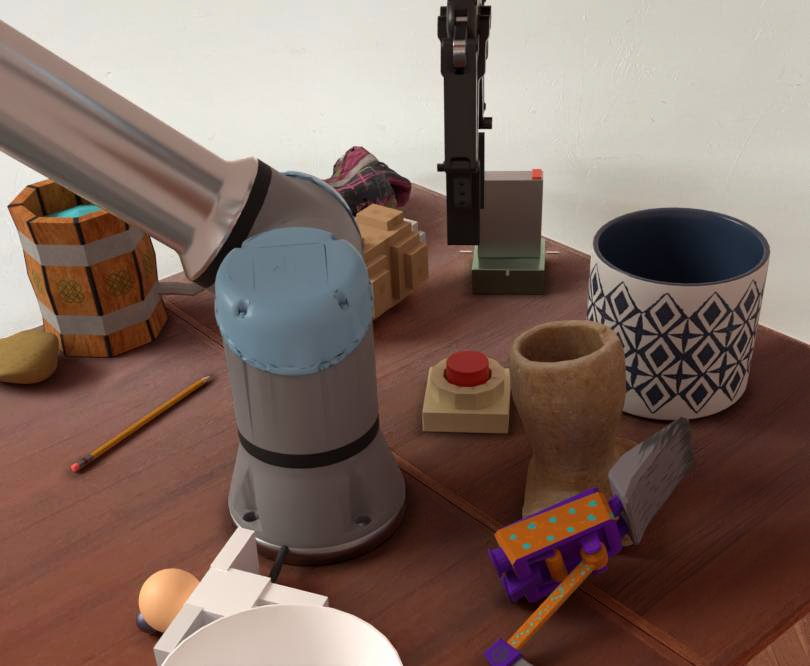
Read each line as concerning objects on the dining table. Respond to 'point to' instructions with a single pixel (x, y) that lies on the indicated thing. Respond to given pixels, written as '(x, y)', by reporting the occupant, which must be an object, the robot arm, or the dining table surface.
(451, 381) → the red button
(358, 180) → the athletic shoe
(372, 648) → the bowl
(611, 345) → the stone cup
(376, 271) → the roast turkey
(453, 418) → the button box
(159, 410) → the pencil
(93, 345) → the mug
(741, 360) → the planter
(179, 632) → the figurine
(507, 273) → the tap panel
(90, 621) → the dining table surface
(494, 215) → the tap handle
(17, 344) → the potato
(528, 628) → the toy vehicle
